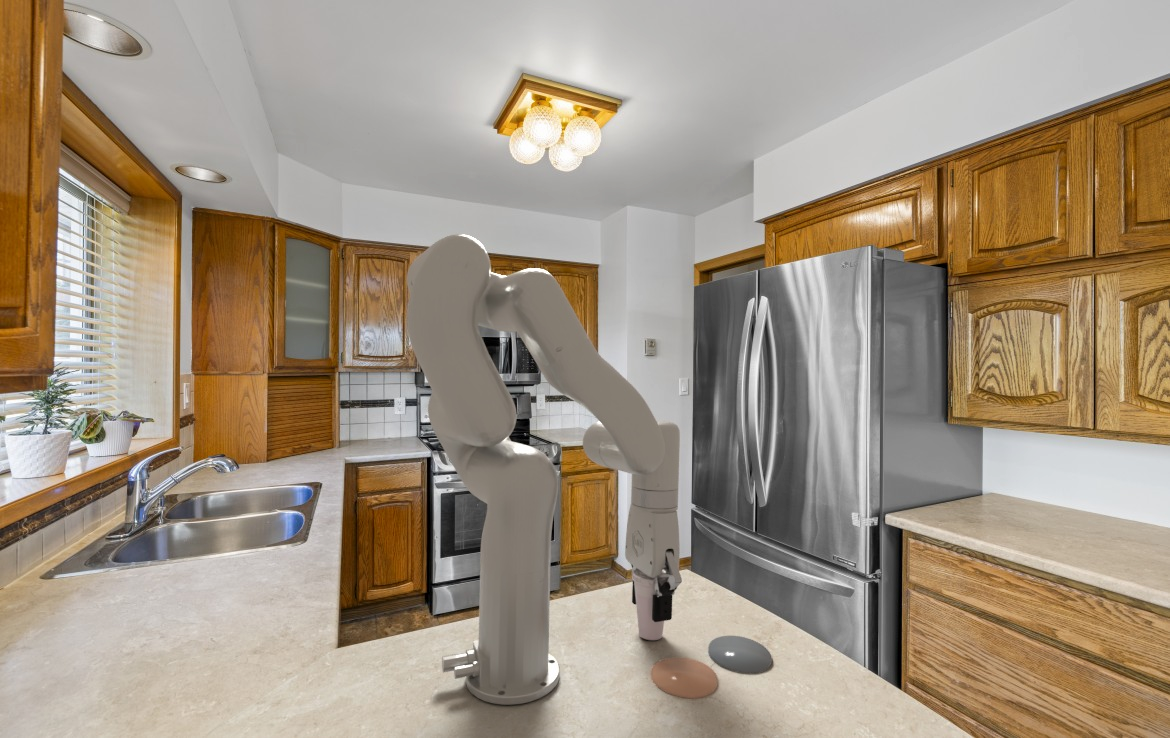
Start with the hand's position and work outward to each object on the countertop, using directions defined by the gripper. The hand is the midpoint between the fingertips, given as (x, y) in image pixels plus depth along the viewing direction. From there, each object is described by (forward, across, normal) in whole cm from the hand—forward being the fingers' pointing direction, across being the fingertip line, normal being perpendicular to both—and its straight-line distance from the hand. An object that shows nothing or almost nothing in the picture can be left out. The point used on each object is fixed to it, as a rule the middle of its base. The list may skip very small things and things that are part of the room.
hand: (651, 610), depth 84 cm
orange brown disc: (+5, +12, -2) cm, 13 cm away
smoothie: (+4, 0, 0) cm, 4 cm away
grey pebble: (+4, +10, +10) cm, 14 cm away
